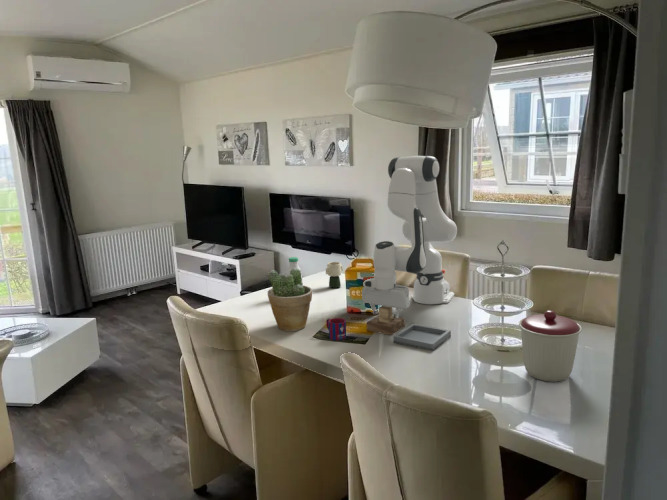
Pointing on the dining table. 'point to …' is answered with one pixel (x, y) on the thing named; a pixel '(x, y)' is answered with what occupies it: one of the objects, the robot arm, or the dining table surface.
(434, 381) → the dining table surface
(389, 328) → the collar
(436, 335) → the tray
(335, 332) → the cup
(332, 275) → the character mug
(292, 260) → the milk bottle
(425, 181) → the robot arm
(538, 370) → the canister
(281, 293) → the potted plant
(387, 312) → the peg
